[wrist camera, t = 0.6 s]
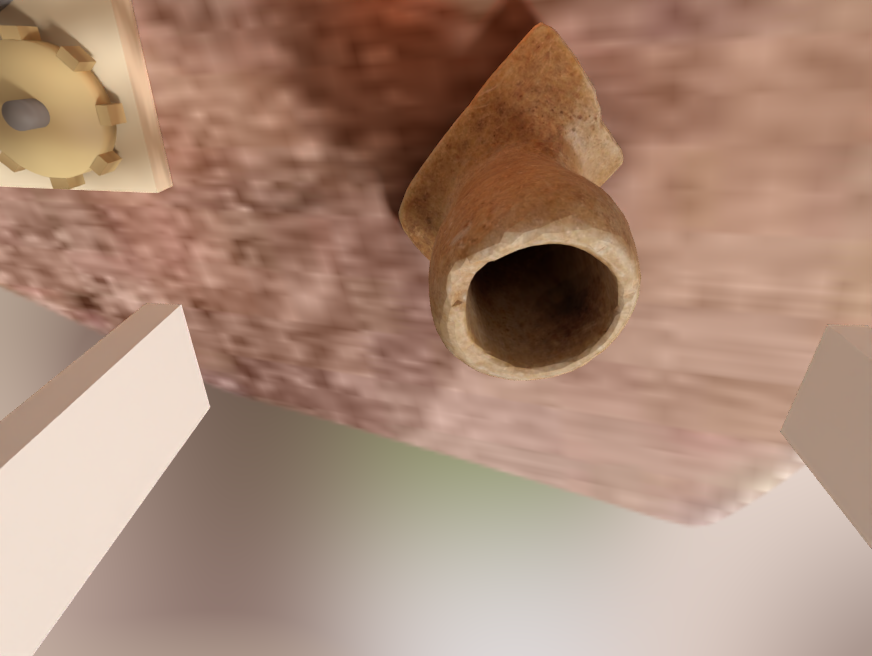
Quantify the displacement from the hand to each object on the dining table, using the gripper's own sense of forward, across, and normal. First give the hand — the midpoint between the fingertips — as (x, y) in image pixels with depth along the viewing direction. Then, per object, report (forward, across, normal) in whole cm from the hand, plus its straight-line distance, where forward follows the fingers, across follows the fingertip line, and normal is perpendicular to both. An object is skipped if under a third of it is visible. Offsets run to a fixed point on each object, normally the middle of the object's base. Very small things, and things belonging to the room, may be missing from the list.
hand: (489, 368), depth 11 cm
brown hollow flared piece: (+26, +3, -2) cm, 26 cm away
